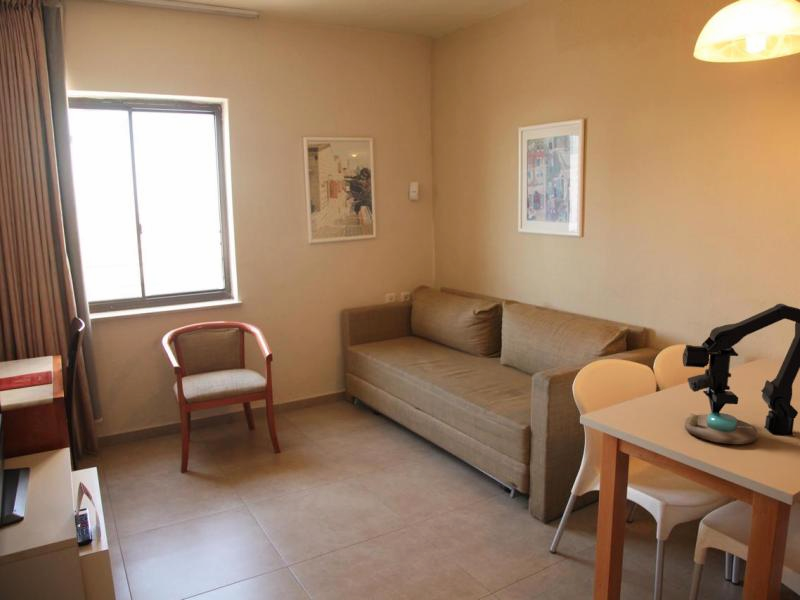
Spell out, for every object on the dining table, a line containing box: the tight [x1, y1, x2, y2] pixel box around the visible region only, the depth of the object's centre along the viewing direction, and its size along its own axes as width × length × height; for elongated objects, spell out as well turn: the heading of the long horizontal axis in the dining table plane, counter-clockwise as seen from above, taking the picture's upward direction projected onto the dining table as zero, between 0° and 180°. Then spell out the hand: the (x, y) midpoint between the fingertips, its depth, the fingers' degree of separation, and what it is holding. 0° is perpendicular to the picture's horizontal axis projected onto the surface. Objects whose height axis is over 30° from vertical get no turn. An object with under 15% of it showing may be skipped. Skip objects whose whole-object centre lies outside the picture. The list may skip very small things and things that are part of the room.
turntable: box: [684, 413, 759, 445], centre depth 192 cm, size 20×20×4 cm
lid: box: [707, 412, 738, 432], centre depth 192 cm, size 8×8×3 cm
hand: (714, 416), depth 198 cm, fingers closed
